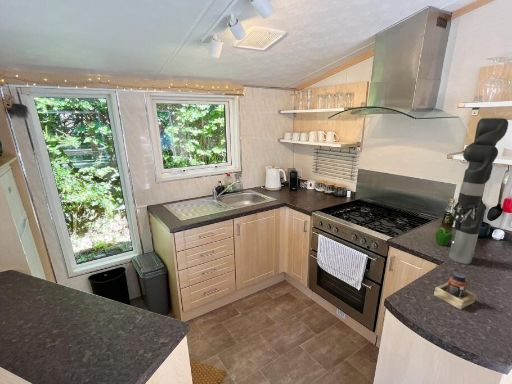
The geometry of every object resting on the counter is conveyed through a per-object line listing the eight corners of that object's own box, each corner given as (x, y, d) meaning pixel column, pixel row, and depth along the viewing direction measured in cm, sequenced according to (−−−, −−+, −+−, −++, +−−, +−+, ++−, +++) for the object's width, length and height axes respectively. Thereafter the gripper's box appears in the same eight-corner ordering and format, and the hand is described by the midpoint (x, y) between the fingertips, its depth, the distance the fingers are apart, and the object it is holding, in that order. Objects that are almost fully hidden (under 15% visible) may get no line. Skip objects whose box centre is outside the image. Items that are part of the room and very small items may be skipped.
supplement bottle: (463, 304, 107) (469, 280, 104) (445, 299, 110) (451, 276, 107) (461, 296, 112) (467, 273, 109) (444, 292, 115) (450, 269, 112)
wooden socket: (433, 294, 113) (435, 287, 112) (447, 288, 118) (449, 281, 117) (460, 309, 104) (462, 302, 103) (474, 302, 109) (476, 295, 108)
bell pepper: (453, 247, 158) (457, 231, 155) (440, 246, 158) (443, 231, 156) (444, 241, 166) (447, 226, 164) (431, 240, 166) (434, 226, 164)
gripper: (469, 189, 116) (461, 222, 121) (451, 192, 110) (443, 227, 114) (490, 193, 110) (480, 228, 114) (472, 196, 104) (463, 234, 108)
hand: (462, 228), depth 114 cm, fingers open, 8 cm apart
